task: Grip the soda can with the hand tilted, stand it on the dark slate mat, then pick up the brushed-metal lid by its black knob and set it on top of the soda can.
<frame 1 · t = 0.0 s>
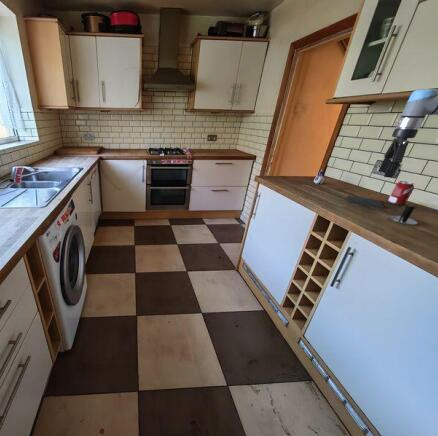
hand: (384, 174, 112), 17 cm above the table, tool pointing down, fingers open, 13 cm apart
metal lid: (402, 221, 104), on the table
soda can: (395, 203, 125), on the table
slate mat: (364, 201, 126), on the table
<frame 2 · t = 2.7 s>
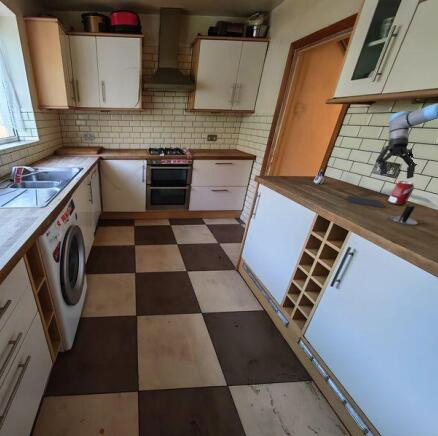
hand: (396, 176, 125), 14 cm above the table, tool tilted 35°, fingers open, 13 cm apart
nothing on the table moved.
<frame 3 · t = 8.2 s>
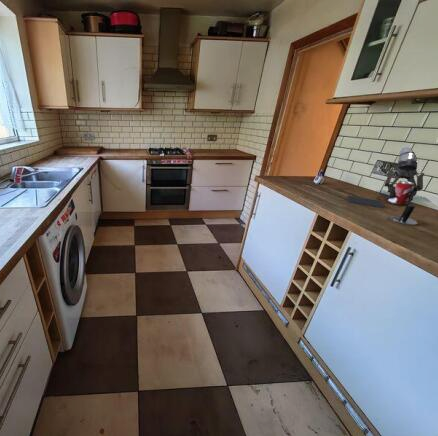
hand: (400, 199, 121), 4 cm above the table, tool tilted 45°, fingers closed on soda can, 7 cm apart
soda can: (395, 203, 125), on the table, touching gripper
everything else where it was.
when the fingers open (4 cm above the table, at t = 16.4 s): soda can stays where it is, resting on slate mat.
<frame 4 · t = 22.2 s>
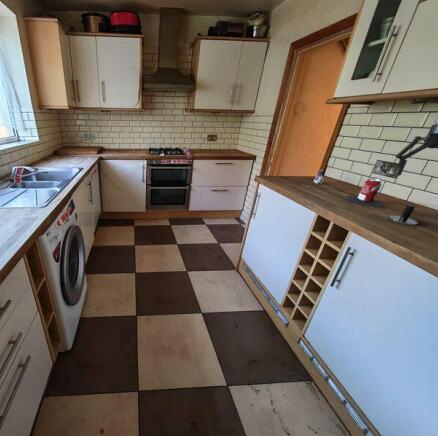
hand: (420, 177, 98), 20 cm above the table, tool pointing down, fingers open, 13 cm apart
soda can: (364, 201, 126), resting on slate mat
everything else where it was.
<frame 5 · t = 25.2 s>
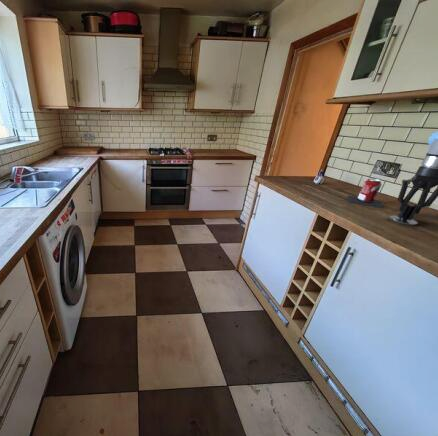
hand: (404, 218, 104), 2 cm above the table, tool pointing down, fingers closed on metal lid, 2 cm apart
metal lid: (402, 221, 104), on the table, touching gripper
everything else where it was.
when the fingers open (14 cm above the table, at t = 31.5 s): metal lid stays where it is, resting on soda can.
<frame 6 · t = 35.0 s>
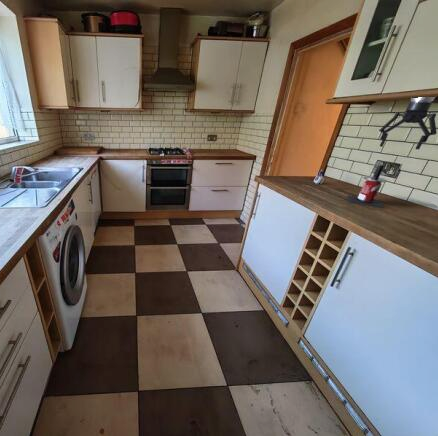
hand: (398, 147, 118), 29 cm above the table, tool pointing down, fingers open, 13 cm apart
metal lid: (374, 179, 121), point 13 cm above the table, touching soda can
soda can: (364, 201, 126), resting on slate mat, touching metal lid
at the end: soda can inside the target area on the slate mat (0.0 cm from its centre), point 0.4 cm above the slate mat's base; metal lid 0.0 cm off-centre on the soda can, point 12.2 cm above the soda can's base; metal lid tilted 0° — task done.
